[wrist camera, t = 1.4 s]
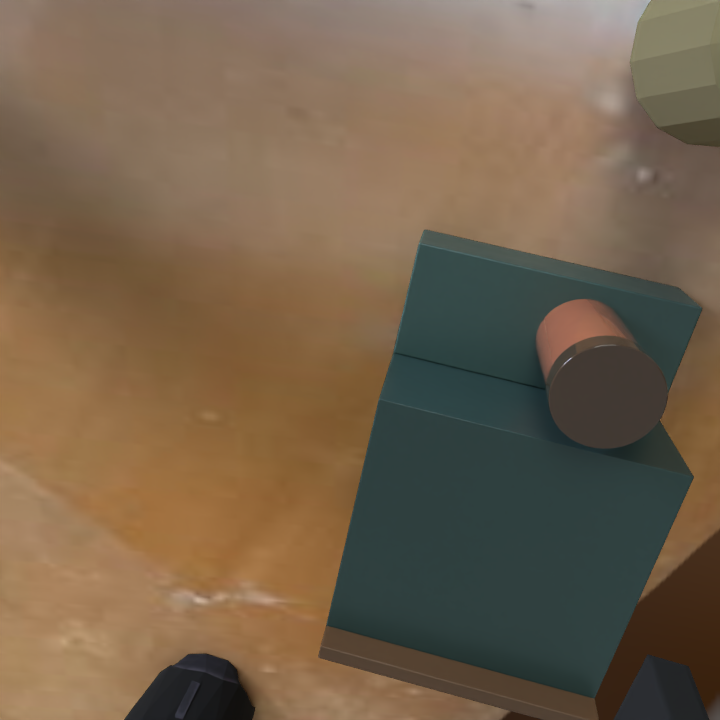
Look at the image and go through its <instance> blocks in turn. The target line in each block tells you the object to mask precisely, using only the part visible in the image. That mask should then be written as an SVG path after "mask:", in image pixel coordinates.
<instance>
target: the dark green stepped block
mask: <svg viewBox="0 0 720 720" xmlns="http://www.w3.org/2000/svg"><path fill="white" fill-rule="evenodd" d="M577 299H591V300H596V301H599V302H602V303H604V304H606V305H608V306H609V307H611V308H612V309H613V310H615V311H616V312H617V313H618V315H619V316H620V317H621V319H622V320H623V321H624V323H625V324H626V326H627V327H628V328H629V330H630V331H631V333H632V334H633V335H634V337H635V338H636V340H637V341H638V342H639V344H640V345H641V346H642V347H643V348H644V349H645V350H646V351H647V352H648V353H649V354H650V355H651V356H652V358H653V359H654V360H655V362H656V363H657V365H658V366H659V367H660V369H661V371H662V372H663V375H664V377H665V380H666V383H667V390H668V392H669V389H670V387H671V384H672V382H673V379H674V377H675V374H676V372H677V370H678V367H679V365H680V362H681V360H682V357H683V355H684V353H685V350H686V348H687V345H688V343H689V340H690V338H691V335H692V333H693V331H694V328H695V326H696V323H697V321H698V318H699V316H700V313H701V311H702V308H701V307H700V306H699V305H698V304H697V303H696V302H695V301H693V300H692V299H691V298H690V297H689V296H688V295H687V294H685V293H684V292H683V291H682V290H681V289H680V288H678V287H674V286H670V285H665V284H661V283H657V282H652V281H648V280H643V279H639V278H635V277H630V276H626V275H622V274H617V273H613V272H609V271H604V270H600V269H595V268H591V267H587V266H582V265H578V264H574V263H569V262H565V261H561V260H556V259H552V258H547V257H543V256H539V255H534V254H530V253H526V252H521V251H517V250H513V249H508V248H504V247H499V246H495V245H491V244H486V243H482V242H478V241H473V240H469V239H465V238H460V237H456V236H452V235H447V234H443V233H438V232H434V231H430V230H424V231H423V234H422V237H421V239H420V242H419V245H418V249H417V254H416V258H415V262H414V267H413V271H412V275H411V279H410V284H409V288H408V292H407V296H406V301H405V305H404V309H403V313H402V318H401V322H400V326H399V330H398V335H397V339H396V343H395V348H394V352H393V355H392V359H391V362H390V365H389V368H388V372H387V375H386V378H385V381H384V384H383V388H382V391H381V394H380V397H379V401H378V405H377V410H376V414H375V418H374V423H373V427H372V431H371V435H370V440H369V444H368V448H367V453H366V457H365V461H364V466H363V470H362V474H361V478H360V483H359V487H358V491H357V496H356V500H355V504H354V509H353V513H352V517H351V522H350V526H349V530H348V534H347V539H346V543H345V547H344V552H343V556H342V560H341V565H340V569H339V573H338V577H337V582H336V586H335V590H334V595H333V599H332V603H331V608H330V612H329V616H328V621H327V625H326V628H325V632H324V636H323V639H322V643H321V647H320V651H319V655H318V657H319V658H322V659H325V660H329V661H332V662H336V663H340V664H343V665H347V666H350V667H354V668H358V669H361V670H365V671H369V672H372V673H376V674H379V675H383V676H387V677H390V678H394V679H398V680H401V681H405V682H408V683H412V684H416V685H419V686H423V687H426V688H430V689H434V690H437V691H441V692H445V693H448V694H452V695H455V696H459V697H463V698H466V699H470V700H473V701H477V702H481V703H484V704H488V705H492V706H495V707H499V708H502V709H506V710H510V711H513V712H517V713H521V714H524V715H528V716H532V717H535V718H539V719H542V720H599V718H598V713H597V708H596V703H595V699H594V698H595V696H596V694H597V691H598V689H599V687H600V685H601V683H602V680H603V678H604V676H605V674H606V672H607V669H608V667H609V665H610V663H611V660H612V658H613V656H614V654H615V651H616V649H617V647H618V645H619V643H620V640H621V638H622V636H623V634H624V631H625V629H626V627H627V625H628V623H629V620H630V618H631V616H632V614H633V611H634V609H635V607H636V605H637V602H638V600H639V598H640V596H641V594H642V591H643V589H644V587H645V585H646V582H647V580H648V578H649V576H650V574H651V571H652V569H653V567H654V565H655V562H656V560H657V558H658V556H659V554H660V551H661V549H662V547H663V545H664V542H665V540H666V538H667V536H668V533H669V531H670V529H671V527H672V525H673V522H674V520H675V518H676V516H677V513H678V511H679V509H680V507H681V505H682V502H683V500H684V498H685V496H686V493H687V491H688V489H689V487H690V484H691V482H692V480H693V478H694V476H693V475H692V473H691V471H690V470H689V468H688V466H687V465H686V463H685V462H684V460H683V458H682V457H681V455H680V453H679V452H678V450H677V448H676V447H675V445H674V443H673V442H672V440H671V438H670V437H669V435H668V433H667V432H666V430H665V428H664V427H663V425H662V423H661V422H660V420H659V422H658V423H657V425H656V426H655V427H654V428H653V429H652V430H651V431H650V432H649V433H648V434H647V435H645V436H644V437H642V438H641V439H639V440H637V441H635V442H634V443H631V444H629V445H626V446H622V447H618V448H611V449H599V448H592V447H588V446H585V445H582V444H579V443H577V442H575V441H573V440H572V439H570V438H569V437H567V436H566V435H565V434H564V433H563V432H562V431H561V430H560V429H559V428H558V426H557V425H556V424H555V422H554V420H553V418H552V416H551V413H550V410H549V406H548V402H547V397H546V385H545V381H544V378H543V374H542V370H541V367H540V363H539V359H538V356H537V352H536V343H535V342H536V335H537V331H538V328H539V326H540V324H541V322H542V321H543V319H544V318H545V317H546V316H547V314H548V313H549V312H551V311H552V310H553V309H554V308H556V307H557V306H559V305H561V304H563V303H565V302H568V301H572V300H577Z"/></svg>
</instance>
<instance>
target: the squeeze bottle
mask: <svg viewBox="0 0 720 720" xmlns="http://www.w3.org/2000/svg"><path fill="white" fill-rule="evenodd" d="M630 66H631V71H632V77H633V82H634V87H635V92H636V98H637V100H638V101H639V103H640V104H641V106H642V107H643V108H644V110H645V111H646V113H647V114H648V115H649V117H650V118H651V120H652V121H653V123H654V124H655V125H656V127H657V128H659V129H661V130H663V131H664V132H666V133H668V134H670V135H672V136H674V137H675V138H677V139H679V140H681V141H683V142H684V143H686V144H692V145H704V146H716V147H720V0H651V1H650V3H649V4H648V6H647V8H646V9H645V11H644V13H643V14H642V16H641V18H640V19H639V21H638V24H637V29H636V34H635V39H634V44H633V49H632V54H631V59H630Z"/></svg>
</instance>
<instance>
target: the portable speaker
mask: <svg viewBox="0 0 720 720" xmlns="http://www.w3.org/2000/svg"><path fill="white" fill-rule="evenodd" d="M254 711H255V708H254V707H253V706H252V705H251V702H250V700H249V698H248V695H247V693H246V692H245V690H244V689H243V687H242V686H241V684H240V682H239V679H238V674H237V670H236V669H235V667H234V666H233V665H232V664H231V663H230V662H229V661H227V660H224V659H221V658H218V657H215V656H211V655H208V654H188V655H187V656H186V657H184V658H183V659H182V660H180V661H179V662H178V663H177V664H175V665H173V666H171V665H170V666H169V667H167V668H166V669H164V670H163V671H161V672H160V673H159V675H158V676H157V677H156V678H155V680H154V681H153V682H152V684H151V685H150V686H149V688H148V689H147V690H146V691H145V693H144V694H143V695H142V697H141V698H140V699H139V700H138V702H137V703H136V704H135V706H134V707H133V708H132V710H131V711H130V712H129V714H128V715H127V717H126V718H125V719H124V720H252V719H253V715H254Z"/></svg>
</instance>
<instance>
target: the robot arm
mask: <svg viewBox="0 0 720 720" xmlns="http://www.w3.org/2000/svg"><path fill="white" fill-rule="evenodd" d="M614 720H709V718H708V715H707V713H706V710H705V707H704V705H703V703H702V700H701V697H700V695H699V692H698V690H697V687H696V684H695V682H694V679H693V677H692V674H691V671H690V669H689V667H688V666H686V665H682V664H679V663H675V662H672V661H668V660H665V659H662V658H658V657H655V656H651V655H647V657H646V659H645V661H644V662H643V664H642V667H641V668H640V670H639V672H638V674H637V676H636V678H635V680H634V682H633V684H632V686H631V688H630V689H629V691H628V693H627V695H626V697H625V699H624V701H623V703H622V705H621V707H620V708H619V710H618V713H617V714H616V716H615V718H614Z"/></svg>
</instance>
